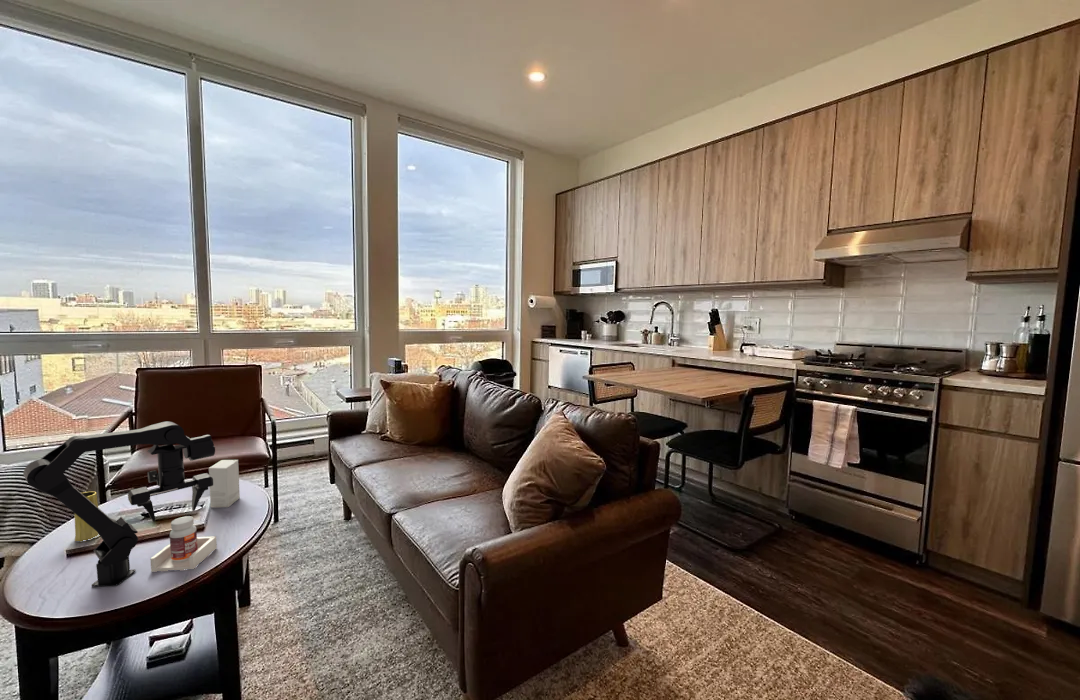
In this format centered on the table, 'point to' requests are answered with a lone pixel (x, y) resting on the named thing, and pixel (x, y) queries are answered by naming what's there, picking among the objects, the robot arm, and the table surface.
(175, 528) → the pill bottle
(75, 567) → the table surface
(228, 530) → the table surface
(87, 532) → the vase
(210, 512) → the table surface
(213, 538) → the end holder
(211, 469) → the skincare box
